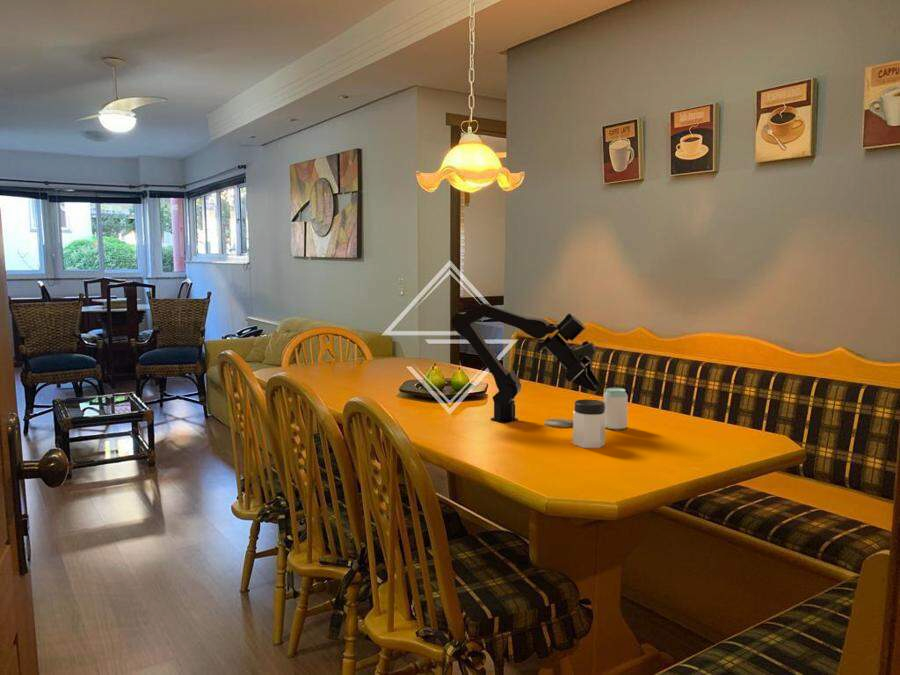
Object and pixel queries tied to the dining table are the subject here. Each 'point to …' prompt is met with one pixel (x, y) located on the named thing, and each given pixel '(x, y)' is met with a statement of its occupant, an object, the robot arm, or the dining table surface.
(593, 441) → the jar
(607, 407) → the can
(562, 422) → the coaster
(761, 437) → the dining table surface
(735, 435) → the dining table surface
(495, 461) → the dining table surface
